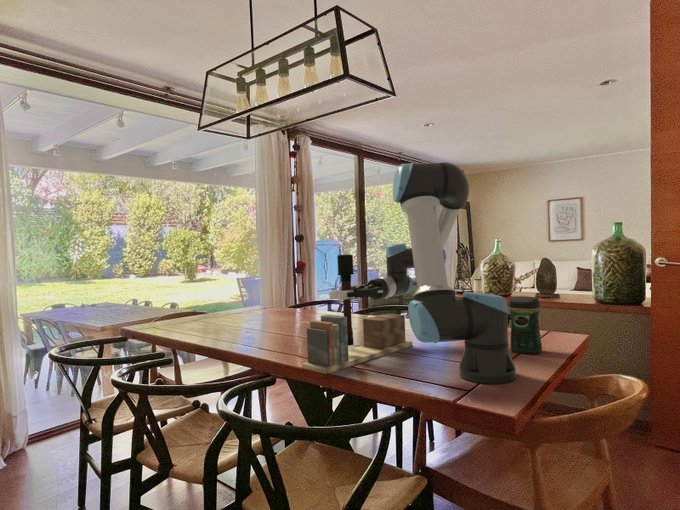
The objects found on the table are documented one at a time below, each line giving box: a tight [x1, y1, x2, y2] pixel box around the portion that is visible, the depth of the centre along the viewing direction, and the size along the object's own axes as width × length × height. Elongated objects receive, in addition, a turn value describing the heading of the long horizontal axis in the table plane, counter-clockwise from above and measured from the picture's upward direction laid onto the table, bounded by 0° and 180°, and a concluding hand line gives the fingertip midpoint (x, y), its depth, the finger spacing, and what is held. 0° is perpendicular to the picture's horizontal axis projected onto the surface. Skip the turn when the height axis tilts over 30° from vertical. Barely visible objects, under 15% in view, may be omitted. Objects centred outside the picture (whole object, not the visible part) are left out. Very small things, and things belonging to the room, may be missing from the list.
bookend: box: [362, 312, 407, 350], centre depth 161 cm, size 14×8×10 cm, turn 135°
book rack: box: [301, 314, 413, 375], centre depth 152 cm, size 44×11×16 cm, turn 135°
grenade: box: [336, 254, 355, 347], centre depth 147 cm, size 6×6×30 cm
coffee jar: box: [508, 295, 543, 355], centre depth 148 cm, size 10×8×19 cm
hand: (334, 295), depth 143 cm, fingers closed on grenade, 3 cm apart
